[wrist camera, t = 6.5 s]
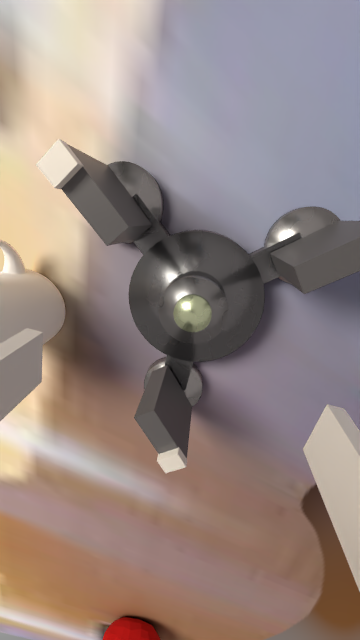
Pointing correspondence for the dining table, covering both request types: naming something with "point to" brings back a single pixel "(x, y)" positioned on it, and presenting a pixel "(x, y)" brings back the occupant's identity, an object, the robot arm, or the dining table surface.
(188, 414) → the dark grey angled finger
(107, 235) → the knob
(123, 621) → the tomato
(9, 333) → the mug
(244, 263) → the tribrach
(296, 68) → the dining table surface
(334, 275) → the knob
